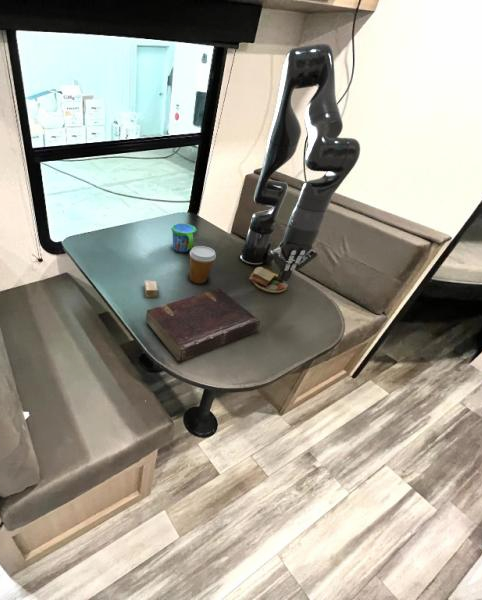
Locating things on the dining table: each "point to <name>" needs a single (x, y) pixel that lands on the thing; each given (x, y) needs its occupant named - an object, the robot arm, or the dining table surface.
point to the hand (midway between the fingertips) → (282, 279)
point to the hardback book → (200, 323)
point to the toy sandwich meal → (267, 281)
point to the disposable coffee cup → (201, 263)
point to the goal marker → (150, 289)
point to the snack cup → (183, 237)
